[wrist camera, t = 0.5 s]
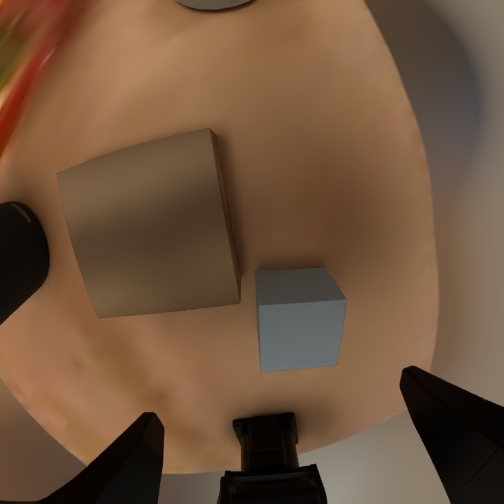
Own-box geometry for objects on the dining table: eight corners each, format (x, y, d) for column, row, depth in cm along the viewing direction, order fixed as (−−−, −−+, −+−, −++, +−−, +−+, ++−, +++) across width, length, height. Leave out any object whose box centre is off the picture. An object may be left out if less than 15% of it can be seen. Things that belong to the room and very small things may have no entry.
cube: (319, 324, 21) (336, 364, 16) (257, 329, 21) (260, 372, 16) (324, 267, 20) (346, 299, 15) (255, 270, 20) (258, 305, 15)
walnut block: (240, 276, 20) (240, 303, 16) (118, 292, 20) (97, 318, 16) (216, 135, 17) (209, 127, 13) (87, 169, 17) (56, 173, 13)
